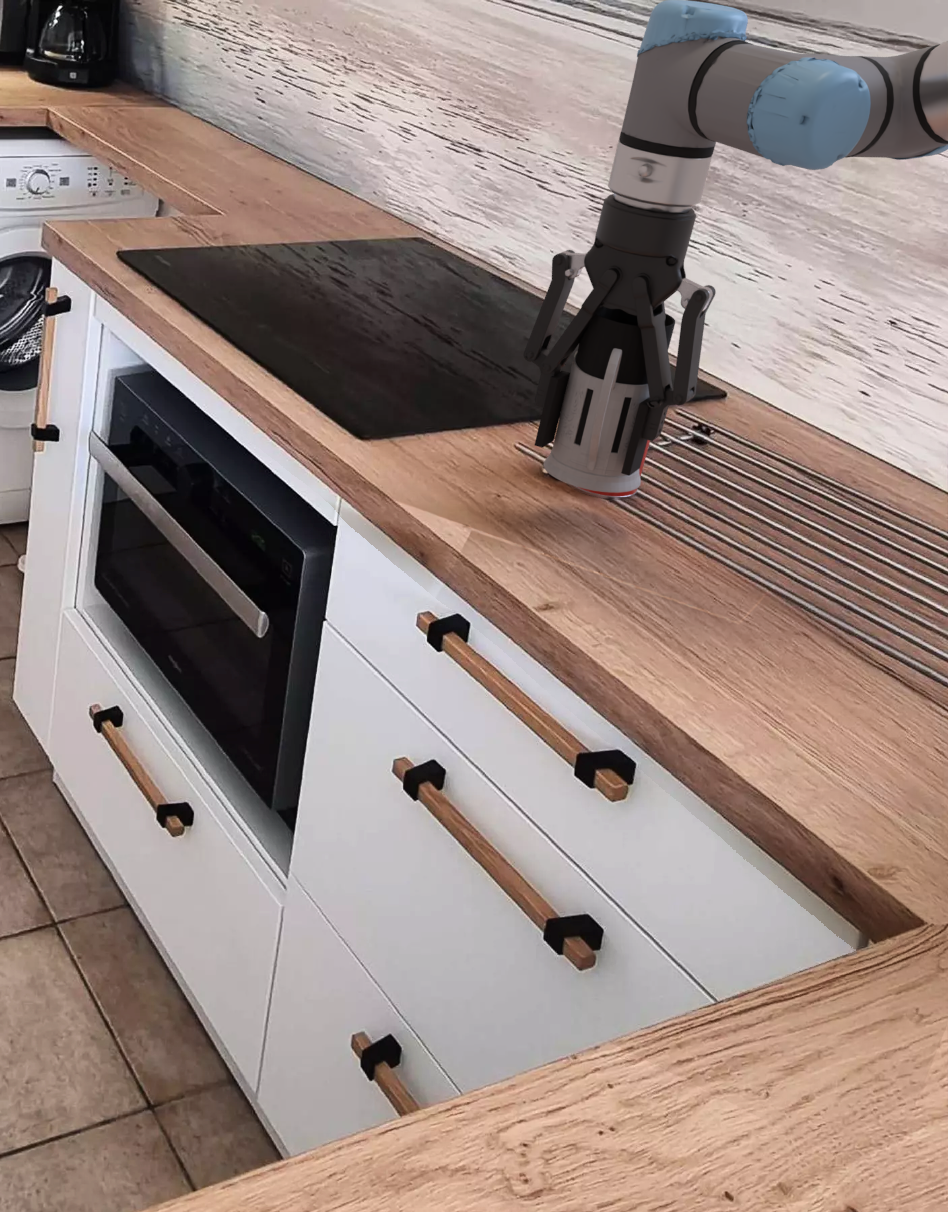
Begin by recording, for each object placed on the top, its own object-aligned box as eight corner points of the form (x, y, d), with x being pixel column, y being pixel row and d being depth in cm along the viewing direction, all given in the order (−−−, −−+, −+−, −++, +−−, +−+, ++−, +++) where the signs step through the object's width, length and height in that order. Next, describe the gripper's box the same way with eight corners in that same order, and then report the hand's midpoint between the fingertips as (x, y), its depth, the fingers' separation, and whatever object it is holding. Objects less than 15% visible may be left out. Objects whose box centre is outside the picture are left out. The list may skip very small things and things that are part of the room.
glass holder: (645, 469, 147) (687, 312, 140) (627, 521, 135) (672, 353, 128) (551, 447, 150) (587, 292, 143) (525, 497, 138) (564, 331, 131)
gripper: (519, 179, 133) (465, 433, 144) (760, 236, 124) (683, 503, 134) (554, 169, 139) (499, 414, 149) (787, 222, 129) (711, 480, 140)
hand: (586, 456), depth 142 cm, fingers closed on glass holder, 7 cm apart
